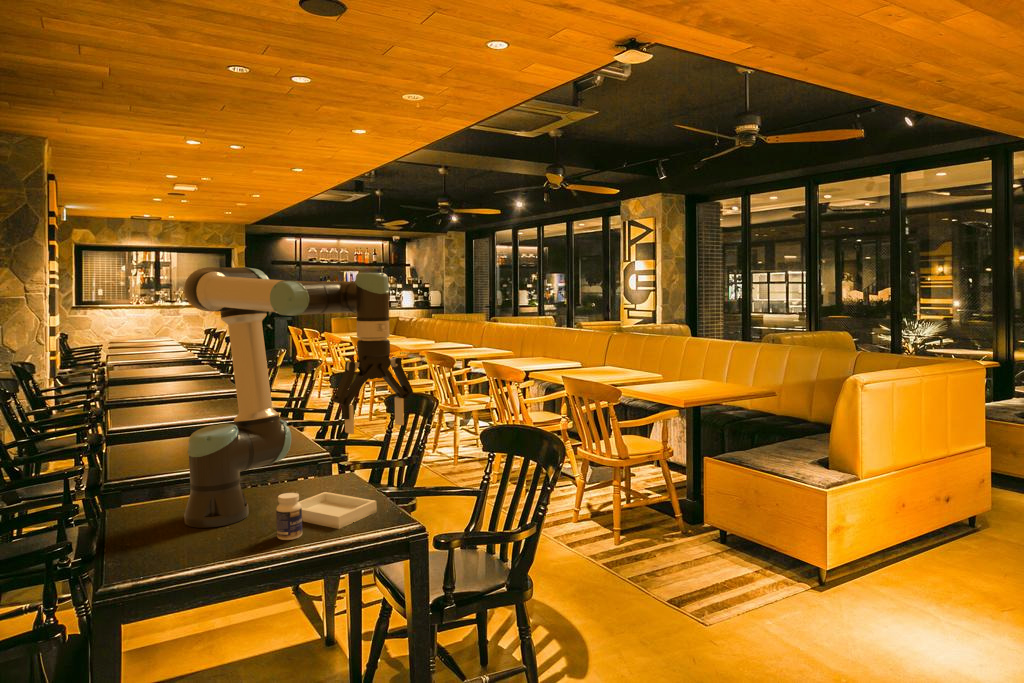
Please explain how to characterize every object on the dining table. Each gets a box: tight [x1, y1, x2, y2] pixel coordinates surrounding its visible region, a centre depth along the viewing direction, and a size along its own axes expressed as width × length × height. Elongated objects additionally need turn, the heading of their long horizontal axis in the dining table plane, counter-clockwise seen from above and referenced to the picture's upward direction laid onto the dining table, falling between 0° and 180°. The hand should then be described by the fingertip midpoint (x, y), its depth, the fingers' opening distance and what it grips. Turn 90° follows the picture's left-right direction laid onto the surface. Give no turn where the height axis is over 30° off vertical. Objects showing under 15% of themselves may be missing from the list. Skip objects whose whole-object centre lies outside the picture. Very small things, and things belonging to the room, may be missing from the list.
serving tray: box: [298, 491, 378, 530], centre depth 175 cm, size 18×14×3 cm
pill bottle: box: [275, 492, 303, 541], centre depth 160 cm, size 6×6×10 cm
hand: (375, 428), depth 160 cm, fingers open, 13 cm apart
